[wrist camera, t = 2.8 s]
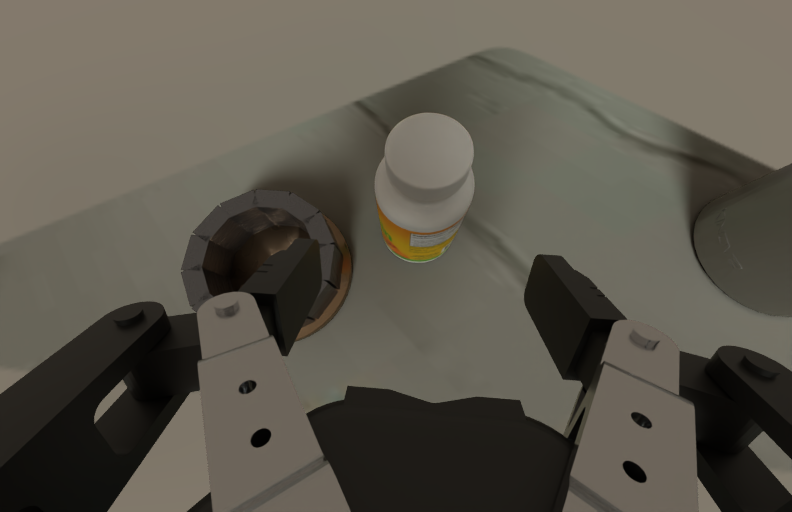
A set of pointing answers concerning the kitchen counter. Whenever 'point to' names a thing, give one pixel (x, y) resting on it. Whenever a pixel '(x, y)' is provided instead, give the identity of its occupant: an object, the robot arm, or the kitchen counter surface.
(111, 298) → the kitchen counter surface
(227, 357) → the robot arm
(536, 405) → the kitchen counter surface
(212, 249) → the collar mount
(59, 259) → the kitchen counter surface
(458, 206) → the supplement bottle
